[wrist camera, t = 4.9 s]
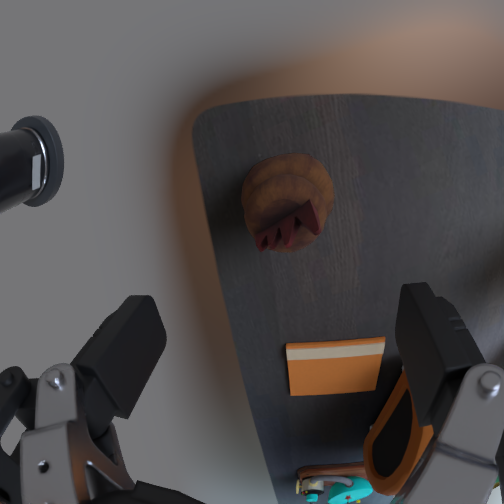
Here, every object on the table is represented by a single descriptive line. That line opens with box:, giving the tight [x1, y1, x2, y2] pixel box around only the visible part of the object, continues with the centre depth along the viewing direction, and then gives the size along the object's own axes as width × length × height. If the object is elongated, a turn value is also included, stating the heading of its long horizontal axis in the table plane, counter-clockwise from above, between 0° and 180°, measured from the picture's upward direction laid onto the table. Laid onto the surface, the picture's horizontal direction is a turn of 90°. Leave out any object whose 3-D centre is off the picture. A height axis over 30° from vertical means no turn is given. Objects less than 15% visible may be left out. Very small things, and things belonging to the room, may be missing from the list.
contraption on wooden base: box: [296, 462, 373, 504], centre depth 44 cm, size 14×18×15 cm
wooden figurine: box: [241, 153, 335, 252], centre depth 20 cm, size 7×6×15 cm
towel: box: [286, 337, 385, 396], centre depth 35 cm, size 12×10×1 cm
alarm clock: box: [363, 366, 434, 496], centre depth 30 cm, size 23×9×17 cm, turn 179°
